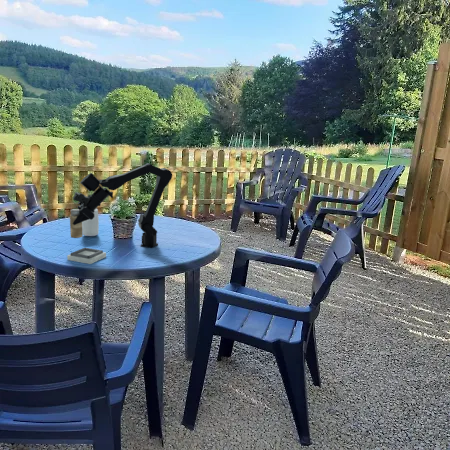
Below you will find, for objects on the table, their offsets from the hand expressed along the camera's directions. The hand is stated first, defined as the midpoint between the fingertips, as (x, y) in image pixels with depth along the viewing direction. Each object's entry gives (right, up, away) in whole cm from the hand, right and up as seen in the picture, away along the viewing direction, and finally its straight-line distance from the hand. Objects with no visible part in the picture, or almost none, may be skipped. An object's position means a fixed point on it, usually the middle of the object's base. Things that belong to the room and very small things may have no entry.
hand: (72, 222), depth 193 cm
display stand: (+9, -16, -6) cm, 19 cm away
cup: (-1, -7, +28) cm, 29 cm away
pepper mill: (+1, -6, +2) cm, 7 cm away
